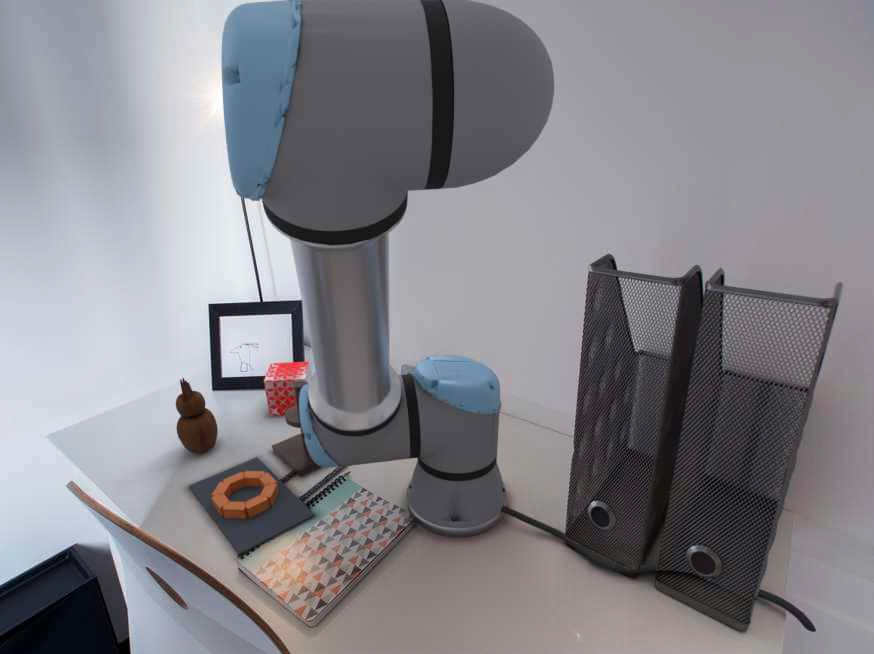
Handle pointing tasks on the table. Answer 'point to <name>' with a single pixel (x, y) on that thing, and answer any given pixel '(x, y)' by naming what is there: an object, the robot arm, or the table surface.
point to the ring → (251, 506)
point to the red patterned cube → (284, 384)
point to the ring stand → (295, 441)
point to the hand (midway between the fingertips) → (347, 284)
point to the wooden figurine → (195, 421)
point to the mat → (260, 526)
